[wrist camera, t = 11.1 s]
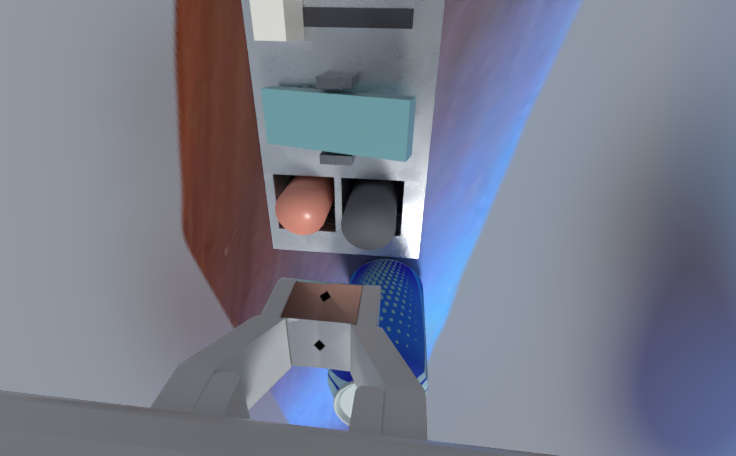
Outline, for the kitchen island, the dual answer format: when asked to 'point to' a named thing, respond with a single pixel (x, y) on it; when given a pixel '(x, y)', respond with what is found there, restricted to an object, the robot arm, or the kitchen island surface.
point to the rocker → (340, 121)
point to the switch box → (356, 74)
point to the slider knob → (277, 20)
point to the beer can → (389, 325)
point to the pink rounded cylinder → (305, 204)
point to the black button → (370, 214)
